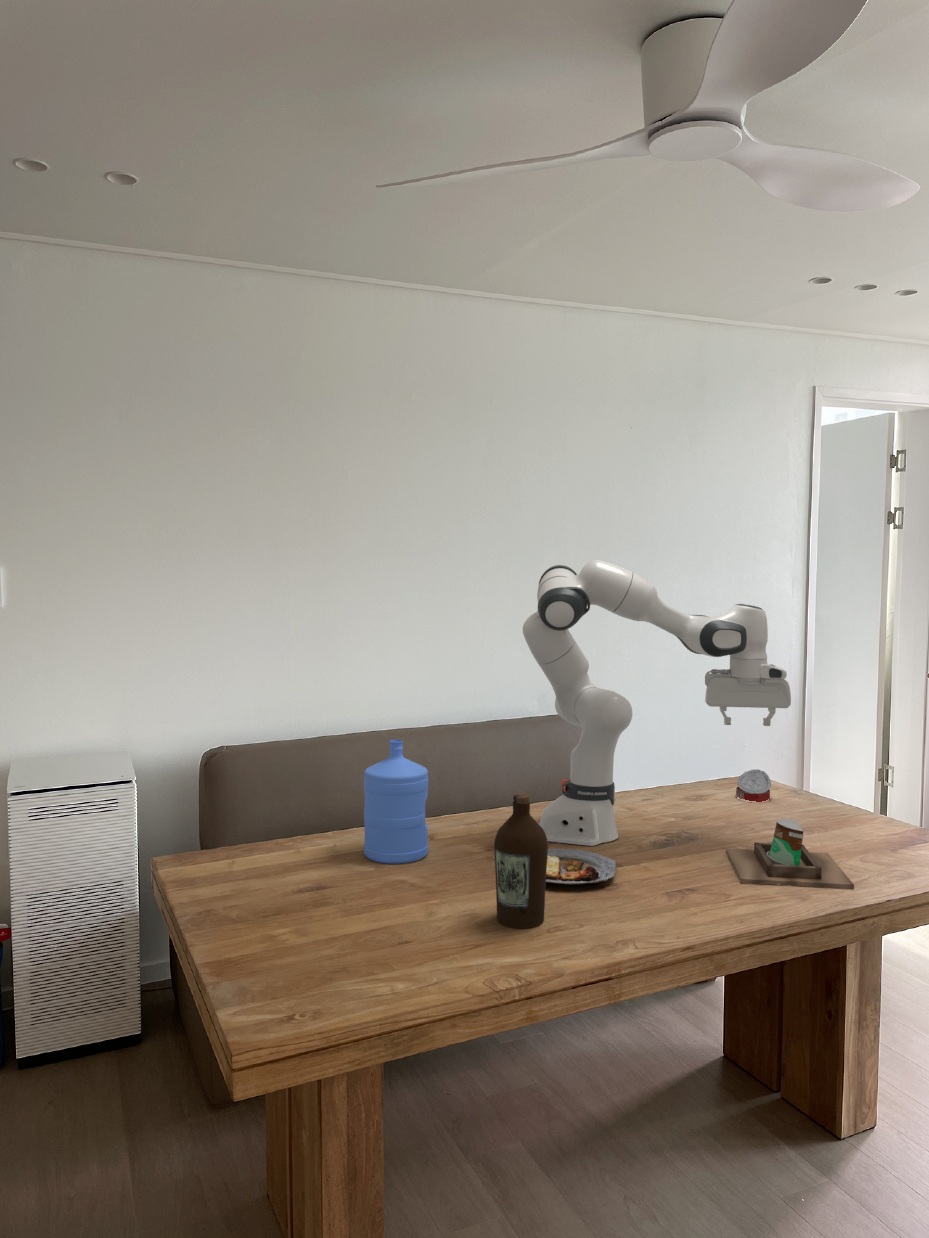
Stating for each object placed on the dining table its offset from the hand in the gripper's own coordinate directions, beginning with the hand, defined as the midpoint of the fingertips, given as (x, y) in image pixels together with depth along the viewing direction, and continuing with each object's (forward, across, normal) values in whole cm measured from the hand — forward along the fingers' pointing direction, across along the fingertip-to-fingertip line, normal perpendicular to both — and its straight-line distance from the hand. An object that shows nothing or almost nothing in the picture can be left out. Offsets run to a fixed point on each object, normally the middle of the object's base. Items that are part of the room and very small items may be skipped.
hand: (747, 725), depth 223 cm
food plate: (+32, -44, -25) cm, 60 cm away
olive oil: (+31, -52, -54) cm, 81 cm away
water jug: (+31, -85, -18) cm, 92 cm away
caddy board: (+31, +7, -15) cm, 35 cm away
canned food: (+32, +11, +51) cm, 61 cm away
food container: (+20, +6, -16) cm, 26 cm away
